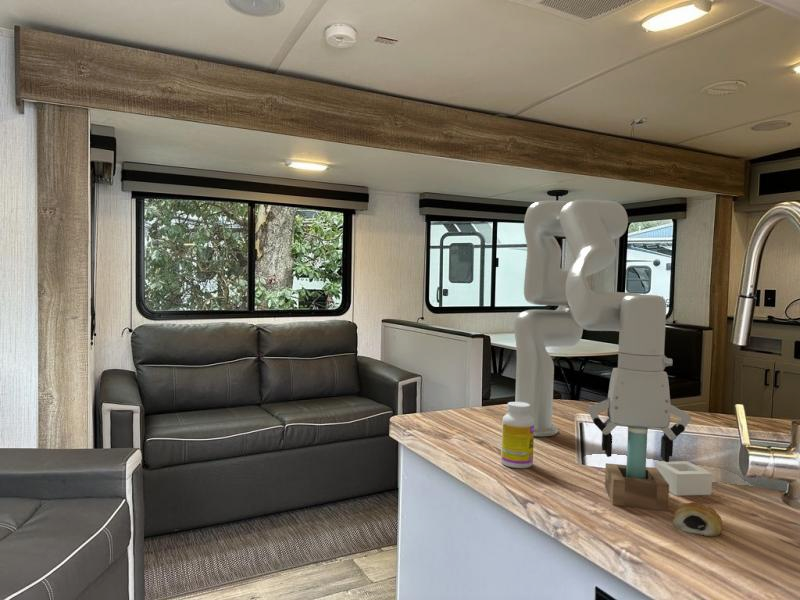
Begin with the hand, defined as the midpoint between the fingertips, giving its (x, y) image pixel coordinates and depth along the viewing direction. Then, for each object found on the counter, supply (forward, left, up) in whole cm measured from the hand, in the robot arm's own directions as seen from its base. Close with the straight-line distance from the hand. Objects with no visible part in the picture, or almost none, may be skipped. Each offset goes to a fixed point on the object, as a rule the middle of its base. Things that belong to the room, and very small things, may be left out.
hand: (636, 457), depth 100 cm
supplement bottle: (-13, -21, -8) cm, 26 cm away
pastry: (+10, +8, -8) cm, 15 cm away
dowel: (0, 0, -7) cm, 7 cm away
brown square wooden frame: (0, 0, -7) cm, 7 cm away
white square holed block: (-8, +10, -7) cm, 15 cm away
